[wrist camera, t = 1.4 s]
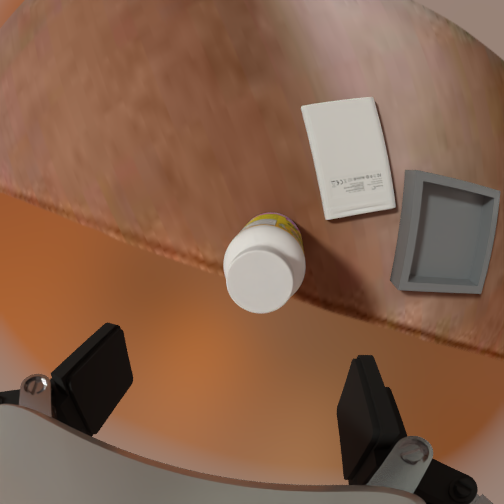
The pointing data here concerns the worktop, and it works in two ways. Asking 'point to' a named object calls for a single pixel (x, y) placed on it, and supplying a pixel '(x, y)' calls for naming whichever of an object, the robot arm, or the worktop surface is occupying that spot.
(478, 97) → the worktop surface
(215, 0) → the worktop surface
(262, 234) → the supplement bottle
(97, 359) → the robot arm
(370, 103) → the external hard drive
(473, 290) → the tray
